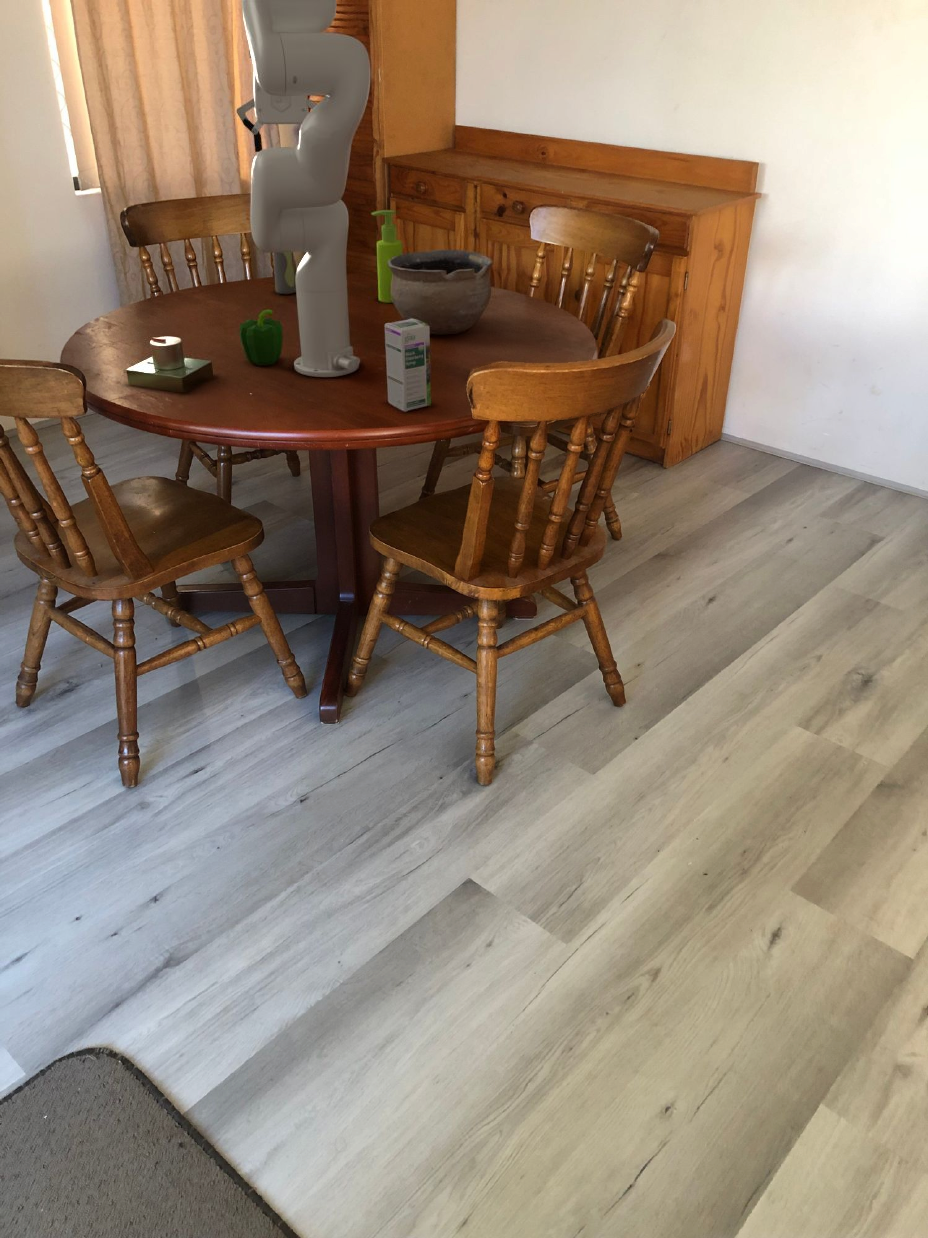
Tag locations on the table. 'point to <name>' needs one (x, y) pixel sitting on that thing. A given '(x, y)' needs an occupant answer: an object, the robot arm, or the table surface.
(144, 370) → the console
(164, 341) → the dial
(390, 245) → the soap dispenser
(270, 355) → the bell pepper
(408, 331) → the syrup box
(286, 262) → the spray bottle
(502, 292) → the table surface
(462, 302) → the ceramic bowl
